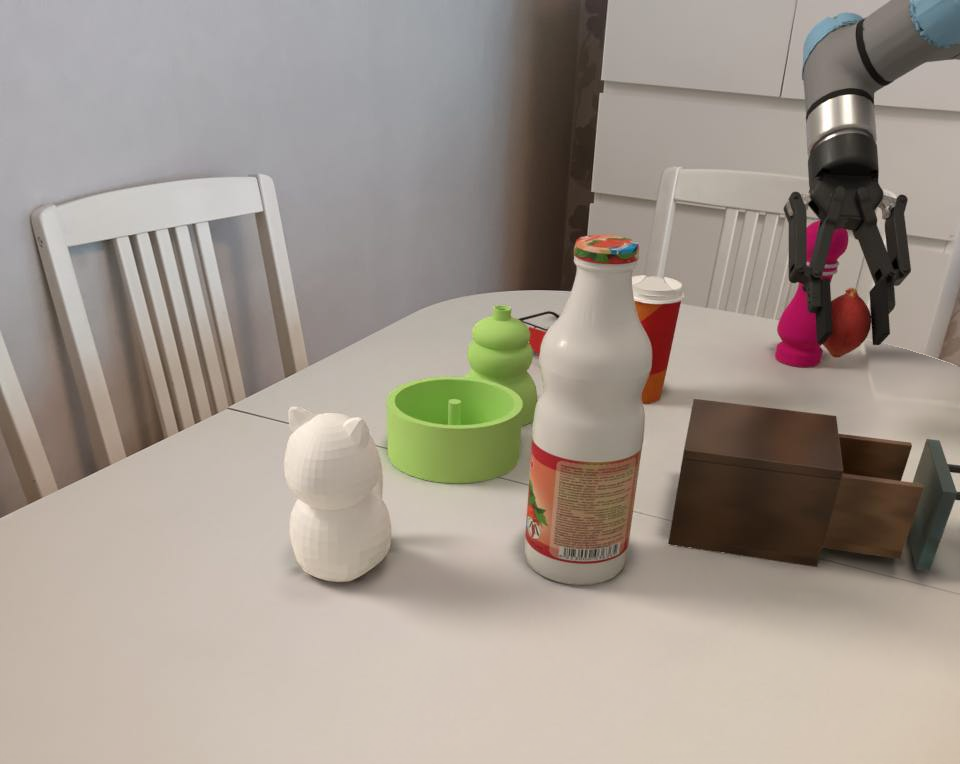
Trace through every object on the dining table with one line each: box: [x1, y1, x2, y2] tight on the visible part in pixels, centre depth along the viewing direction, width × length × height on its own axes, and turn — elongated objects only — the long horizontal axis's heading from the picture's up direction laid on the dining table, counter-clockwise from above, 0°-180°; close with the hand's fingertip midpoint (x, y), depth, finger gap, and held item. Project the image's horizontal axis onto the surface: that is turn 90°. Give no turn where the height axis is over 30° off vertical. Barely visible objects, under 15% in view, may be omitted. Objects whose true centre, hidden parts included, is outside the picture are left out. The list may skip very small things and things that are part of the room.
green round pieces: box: [385, 304, 538, 484], centre depth 108 cm, size 25×15×13 cm, turn 157°
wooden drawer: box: [822, 433, 960, 572], centre depth 91 cm, size 18×12×8 cm, turn 76°
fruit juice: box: [524, 234, 652, 586], centre depth 81 cm, size 9×9×28 cm
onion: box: [822, 286, 872, 359], centre depth 110 cm, size 6×6×8 cm
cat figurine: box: [283, 405, 392, 583], centre depth 84 cm, size 9×12×15 cm
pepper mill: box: [774, 219, 849, 368], centre depth 130 cm, size 7×7×20 cm
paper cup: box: [632, 274, 685, 405], centre depth 119 cm, size 8×8×14 cm
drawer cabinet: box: [667, 398, 843, 567], centre depth 93 cm, size 14×13×10 cm
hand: (853, 338), depth 108 cm, fingers closed on onion, 6 cm apart
